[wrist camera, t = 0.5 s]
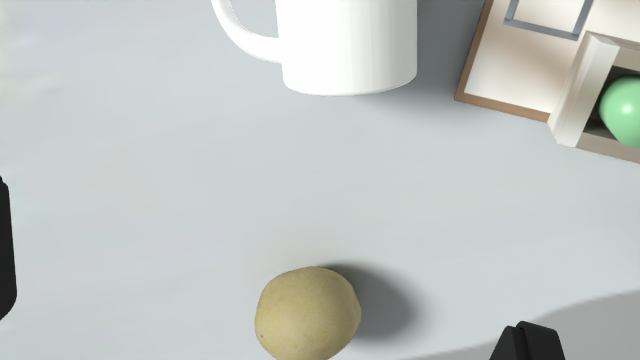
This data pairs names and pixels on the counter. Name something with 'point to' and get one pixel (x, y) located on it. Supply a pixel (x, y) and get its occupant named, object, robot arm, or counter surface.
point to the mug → (335, 44)
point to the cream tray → (554, 64)
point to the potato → (307, 314)
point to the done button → (621, 108)
